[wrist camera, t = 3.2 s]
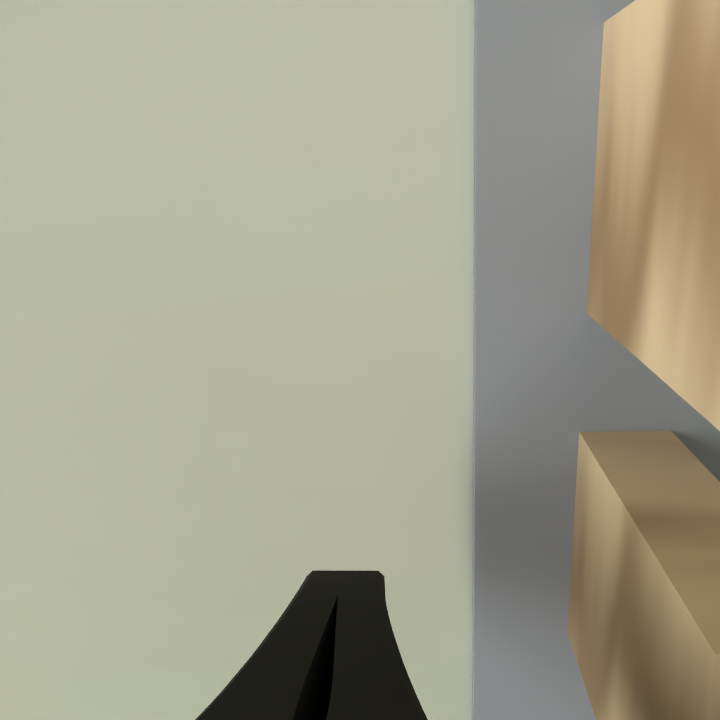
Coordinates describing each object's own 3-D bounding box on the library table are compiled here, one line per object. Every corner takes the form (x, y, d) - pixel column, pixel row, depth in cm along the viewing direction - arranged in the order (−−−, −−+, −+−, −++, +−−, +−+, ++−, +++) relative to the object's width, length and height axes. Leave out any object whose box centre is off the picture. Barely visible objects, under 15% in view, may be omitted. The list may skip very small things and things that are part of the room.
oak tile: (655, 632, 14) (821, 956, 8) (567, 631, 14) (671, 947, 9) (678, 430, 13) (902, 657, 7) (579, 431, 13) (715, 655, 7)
